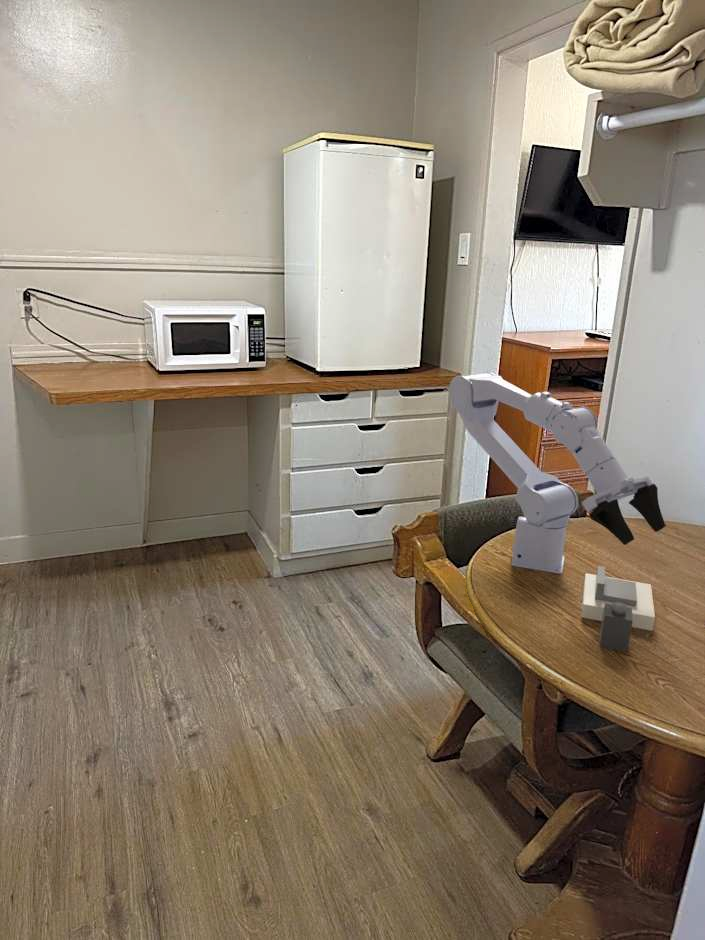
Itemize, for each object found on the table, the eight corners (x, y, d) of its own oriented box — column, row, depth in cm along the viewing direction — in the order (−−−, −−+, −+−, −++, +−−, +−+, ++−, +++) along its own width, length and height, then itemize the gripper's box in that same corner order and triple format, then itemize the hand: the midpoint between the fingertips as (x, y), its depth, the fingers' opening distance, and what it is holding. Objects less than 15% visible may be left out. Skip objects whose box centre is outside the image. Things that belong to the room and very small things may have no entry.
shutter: (594, 598, 113) (597, 582, 112) (595, 580, 120) (597, 565, 119) (636, 606, 111) (639, 590, 110) (634, 587, 118) (637, 572, 117)
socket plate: (581, 617, 112) (583, 604, 112) (583, 585, 123) (585, 573, 122) (652, 630, 109) (654, 617, 108) (648, 596, 120) (650, 584, 119)
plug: (599, 646, 104) (605, 608, 102) (599, 633, 108) (605, 596, 106) (627, 652, 103) (633, 613, 101) (626, 638, 107) (633, 601, 105)
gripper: (583, 466, 111) (629, 538, 106) (644, 446, 117) (690, 513, 112) (561, 486, 117) (603, 555, 112) (620, 466, 123) (662, 530, 118)
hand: (645, 535), depth 112 cm, fingers open, 7 cm apart
